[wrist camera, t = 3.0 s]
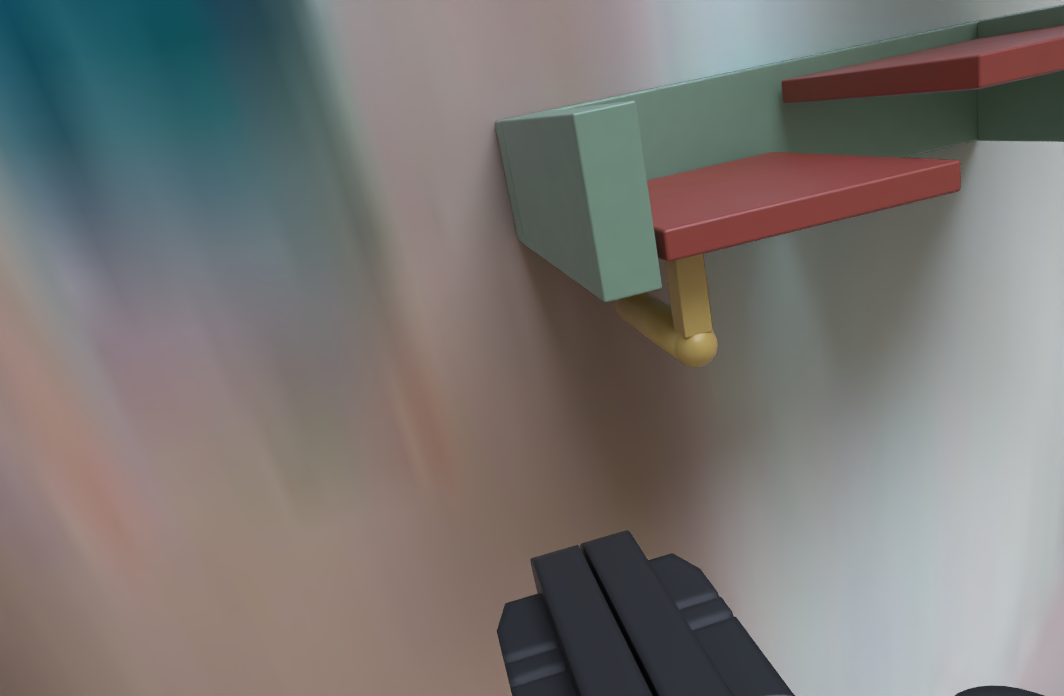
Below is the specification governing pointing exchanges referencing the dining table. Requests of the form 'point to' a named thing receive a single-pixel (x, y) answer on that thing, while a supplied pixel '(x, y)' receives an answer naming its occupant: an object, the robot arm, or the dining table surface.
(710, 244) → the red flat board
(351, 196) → the dining table surface
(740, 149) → the green double frame
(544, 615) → the robot arm
